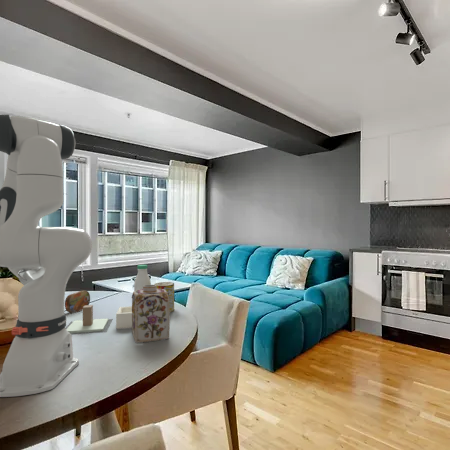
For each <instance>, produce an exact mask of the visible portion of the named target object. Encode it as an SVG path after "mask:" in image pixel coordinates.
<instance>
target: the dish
mask: <svg viewBox="0 0 450 450" xmlns="http://www.w3.org/2000/svg"><path fill="white" fill-rule="evenodd" d="M115 321H116V323H115V324H116V325H115V328H116V330H121V329H132V305H130V306H119V308H118V309H117V311H116V313H115Z"/></svg>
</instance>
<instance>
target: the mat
mask: <svg viewBox="0 0 450 450" xmlns="http://www.w3.org/2000/svg"><path fill="white" fill-rule="evenodd" d="M112 321H113V318H110V319H109V318H108V322H107V324H106V326H105V328H104V330H103V331H96V332H81V333H70V334H71V335H72V336H73V335H86V334H89V335H90V334H100V333H103V334H104V333H107V332H108V330H109V328H110V327H111V324H112ZM72 322H73V321H70V323H68V324H67V325H66V327H65V328H66V329H67V328H68V327H69V326H70V325H71V324H72Z"/></svg>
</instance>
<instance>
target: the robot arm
mask: <svg viewBox="0 0 450 450" xmlns="http://www.w3.org/2000/svg"><path fill="white" fill-rule="evenodd" d="M75 149H76V138H75V134H74V132H73V130H72V129H71V128H70V127H69V126H68V127H67V126H66V125H63V124H60V123H59V124H56V123H53V122H49V121H45V120H40V119H37V118H33V117H26V116H16V115H14V116H13V115H10V114H5V113H0V152H2V153H5V154H7V161H6V169H5V170H6V172H5V176H4V180H3V183H2V185H1V187H0V267H2V268H7V269H8V270H9V271H10V272H11V273H12V274H13V275H14V276H16V277H17V278H18V281H19V282H20V283H21V284H22V287H21V288H20V290H19V292H18V297H17V299H18V305H17V306H18V313H17V315H18V317H17V319H16V323H15V326H14V327H12V329H11V335H12V336H14V338H13V340H12V342H11V344H10V347H9V349H8V351H7V354H6V356H5V359H4V362H3V364H2V369H1V370H2V371H1V372H0V398H7V397H8V398H9V397H21V396H29V395H34V394H39V393H40V394H41V393H44V392H48V391H50V390H53V389H54V388H56V386H57V385H59V384H60V382H62V381H63V380H64V379H65V377H67V376H68V375H69V374H70V373H71V372H72V371H73V370H74V369H75V368H76V367H77V366H78V365H79V364H80V360H79V359H78V358H75V357H74V351H73V349H74V348H73V335H71V334H70V333H69V332H68V331H67V330H66V327H67V316H66V315H67V314H66V312H65V299H66V297H65V295H66V289H67V288H66V287H67V284H68V283H69V282H68V281H69V280H70V278H71V275H72V274H73V273H74V271H75V270H76V269H77V268H78V267H79V266H80V265H81V264H83V263H84V262H86V260H87V259H88V258H89V257H90V255H91V253H92V248H93V243H92V239H91V236H90V235H89V233H88V232H87V231H86V230H85V229H81V228H75V227H72V226H71V227H70V226H44V227H43V226H39V221H40V220H41V219H42V218H44V217H45V216H48V215H50V214H53V213H55V212H57V211H58V210H59V209H60V208H61V207H62V206H63V204H64V171H63V169H64V168H63V160H67V159H69V158H70V157H72V156H73V154H74V151H75Z"/></svg>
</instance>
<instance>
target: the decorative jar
mask: <svg viewBox="0 0 450 450" xmlns="http://www.w3.org/2000/svg"><path fill="white" fill-rule="evenodd" d="M169 301H170V300H169V296H168V293H167V291H166V290H165V289H158V288H157V286H156V285H154V284H151V285H144V286H143V289H140V290H137V291H133V292H132V295H131V306H132V328H131V330H132V336H133V338H134V341H135V343H137V344H138V343H149V342H155V341H163V340H164V339H165V340H169V339H170V324H171V322H170V314H171V312H170V308H169Z"/></svg>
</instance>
